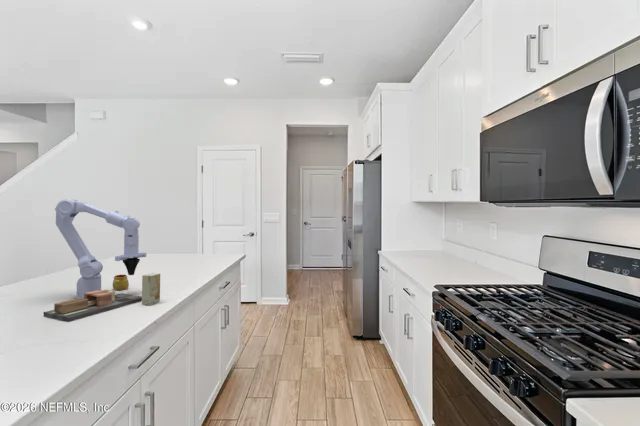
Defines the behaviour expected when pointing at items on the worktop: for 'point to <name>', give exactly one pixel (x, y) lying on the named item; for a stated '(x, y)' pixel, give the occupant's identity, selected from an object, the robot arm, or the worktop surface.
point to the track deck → (96, 305)
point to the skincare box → (150, 288)
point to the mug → (120, 282)
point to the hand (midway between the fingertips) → (131, 274)
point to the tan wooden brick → (77, 304)
